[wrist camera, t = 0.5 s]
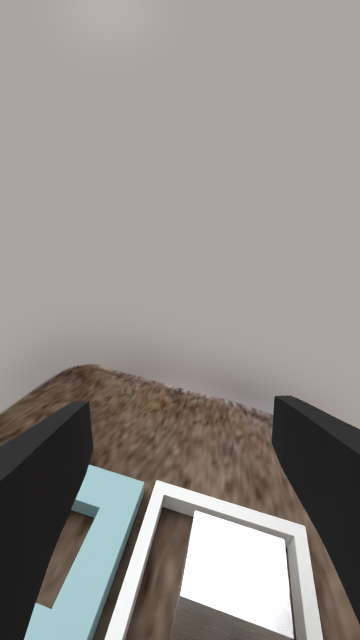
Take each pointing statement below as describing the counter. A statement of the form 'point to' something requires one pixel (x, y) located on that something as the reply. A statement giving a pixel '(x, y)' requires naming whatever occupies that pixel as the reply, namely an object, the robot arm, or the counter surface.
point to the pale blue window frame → (91, 558)
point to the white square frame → (190, 502)
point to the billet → (232, 585)
